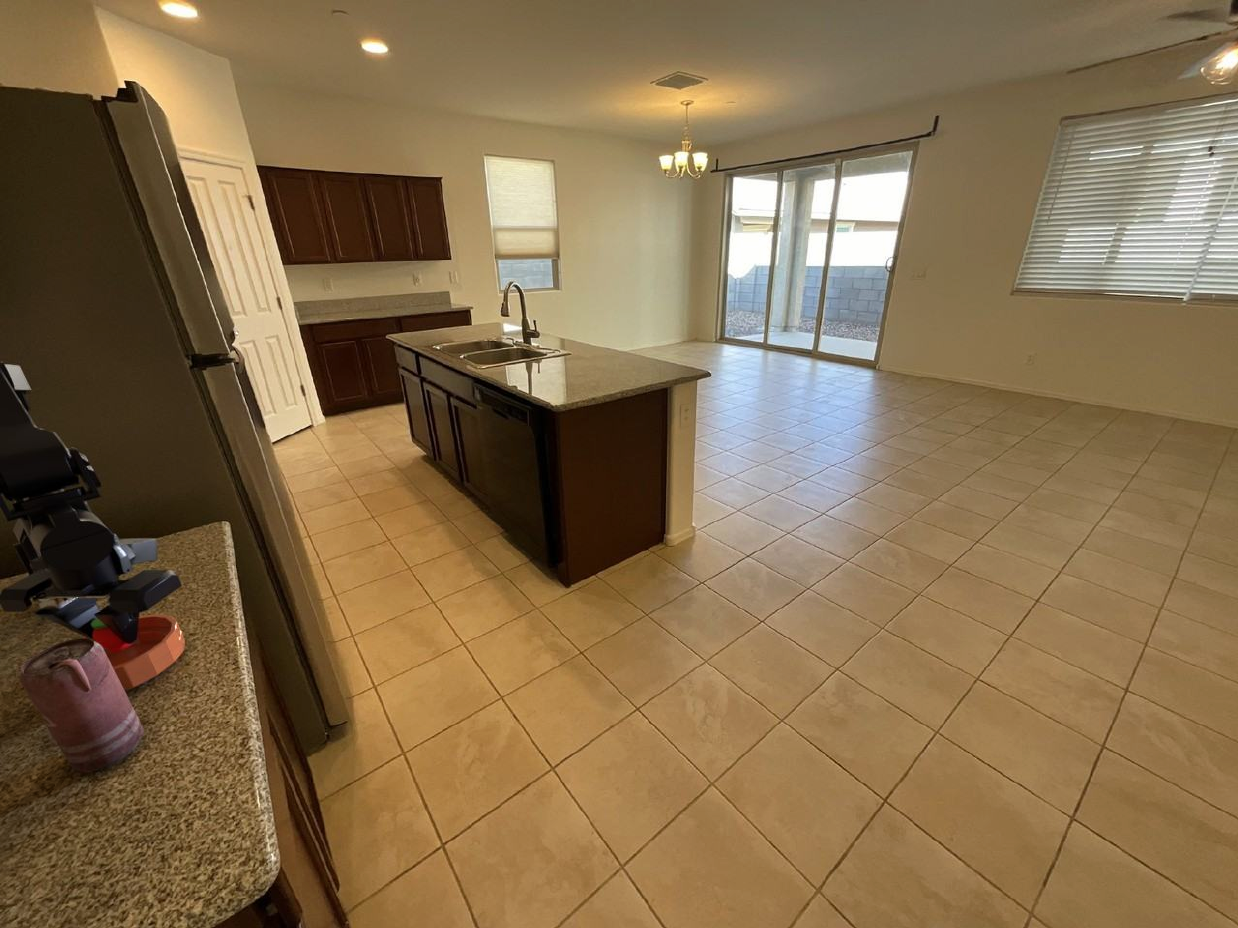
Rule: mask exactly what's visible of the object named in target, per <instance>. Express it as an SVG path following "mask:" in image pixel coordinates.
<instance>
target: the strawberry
mask: <svg viewBox="0 0 1238 928" xmlns="http://www.w3.org/2000/svg"><path fill="white" fill-rule="evenodd" d="M91 626H92V628H94V631H93V635H92V636H93V640H94V641H95V642H97V643H99V644H100V645H101V646H102V647H106V648H107V649H109V650H110V652H112V653H116V652H120V651H123V650H125V649H127V648H128V647H130V646H131V644H132V643H131V644H126V643H125V642H124V641H122V640H121V639H120V638H119V637H118V636H117V635H115V634H114V633H113V632H112V631H111V630H110V629H109V628H108V627H107V626H106V625H104V624H103V623H102V622H101V621H100V620H99V619H98V618H96V619H95V620H94V621H92V623H91Z"/></svg>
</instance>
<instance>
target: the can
mask: <svg viewBox="0 0 1238 928" xmlns="http://www.w3.org/2000/svg"><path fill="white" fill-rule="evenodd" d="M18 681H19V682H20V684H21V686H22V688H23V689H24V691H25V692H26V694H27V696H28V697H29V699H30V701H31V702H32V704H33V706H34V707H35V709H36V711H37V712H38V714H39V715H40V717H41V719H42V720H43V721H42V722H44V724H45V725H46V727H47V728H48V731H49V732H50V734H51V736H52V738H53V739H54V741H55V742H56V744H57V745H58V747H59V749H60V750H61V752H62V754H63V755H64V758H65V759H66V760H67V762H68V764H69V765H70V768H71V769H73V770H74V771H77V772H82V773H94V772H98V771H101V770H105V769H107V768H109V767H112V766H113V765H115V764H117V763H119V762H120V761H123V760H124V759H125V758H126V757H128V755H130V754H131V753H132V752H134V750H136V748H137V747H138V746H139V745H140V743H141V741H142V739H143V736H144V734H145V732H144V726H143V725H142V723H141V720H140V719H139V717H138V715H137V713H136V711H135V709H134V707H133V705H132V703H131V701H130V699H129V697H128V694H127V693H126V690H125V691H124V689H123V687H122V685H121V683H120V681H119V679H118V677H117V675H116V673H115V671H114V669H113V667H112V665H111V663H110V661H109V659H108V657H107V655H106V653H105V651H104V649H103V647H102V646H101V645H100V644H99V643H97V642H95V641H93V640H92V639H89V638H85V637H80V638H73V639H68V640H65V641H62V642H59V643H57V644H54V645H52V646H50V647H47V648H45V649H43V650H41V651H39V652H38V653H36V654H34V655H33V656H31V657H30V658H28V659H27V660H26V661H25V662H24V663H23V664H22V665H21V668H20V675H19V680H18Z"/></svg>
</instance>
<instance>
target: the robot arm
mask: <svg viewBox="0 0 1238 928" xmlns="http://www.w3.org/2000/svg"><path fill="white" fill-rule="evenodd" d="M32 391H33V390H32V387H31V386H30V384H29V382H28V380H27V378H26V376H25V374H24V372H23V370H22V368H21V365H18V364H8V363H4V361H0V510H1V512H2V514H3V517H4V518H5V520H6V521H7V522H12V521H15V520H16V522H15V525H14V527H13V529H12V530H13V533H14V534H15V537H16V539H17V540H18V543H17V542H16V543H13V544H12V546H13V547H14V549H15V551H16V554H17V555H18V557H19V558H20V561H21V562H22V564H23V565H24V566H23V567H24V568H25V570H26V572H27V573H28V576H26V577H23V578H21V579H20V580H18V581H16V582H13V583H12V584H10V585H8V586H6V587H3V589H2V590H1V592H0V606H1V608H2V610H3V612H4V613H24V612H27V611H28V610H30V609H31V607H32V605H33V602H37V604H38V607H40V609H38V610H37V611H35V612H34V615H35V616H37V617H39V618H44V619H46V620H49V621H50V622H53V623H55V624H57V625H58V626H59V625H60V626H61V627H63V628H66V629H68V630H70V631H72V632H74V633H76V634H78V635H80V636H82V637H83V638H89V639H92V640H93V636H92V635H93V631H94V628H92V626H91V623H92V621H94V620H95V619H96V618H98V619H99V620H100V621H101V622H102V623H103V624H104V625H106V626H107V627H108V628H109V629H110V630H111V631H112V632H113V633H114V634H115V635H117V636H118V637H119V638H120V639H121V640H122V641H124V642H125V643H126V644H131V643H133V642H134V641H135V640H136V639H137V634H138V623H139V616H140V613H143V612H146V611H148V610H150V609H152V608H153V607H155V605H158V604H159V603H160V602H161V601H163V600H164V599H166V598H167V597H168V596H170V595H171V594H172V593H174V592H175V591H176V590H178V589H179V588H181V587H182V586H183V585H182V582H181V580H180V578H179V574H178V572H177V571H173V570H170V569H143V570H142V571H140V572H138V573H137V574H135V575H134V576H132V577H129V578H126V579H121V578H120V576H122V575H127V574H129V573H130V572H132V571H135V570H134V567H133V565H138V564H139V565H140V564H144V563H147V562H151V563H153V562H156V561H158V560H159V559H158V557H159V556H158V538H155V537H153V538H152V537H147V538H145V537H144V538H143V537H135V538H134V537H133V538H119V537H118V535H117V534H116V533H113V532H112V531H111V530H110V529H109V528H108V527H107V526H106V525H105V524H104V523H103V522H102V521H101V519H100V518H99V517H98V516H96V515H95V514H94V513H93V512H92V510H91V508H90V506H89V504H88V501H91V500H95V499H99V498H101V497H102V496H101V494H100V491H99V490H98V488H102V482H101V480H100V479H99V477H98V475H97V473H96V472H95V470H94V468H93V467H92V464H91V463H90V461H89V460H88V458H87V456H86V455H85V454H83V453H80V452H79V450H78V449H77V448H75V447H74V446H73V447H72V446H71V447H68V448H67V446H66V445H65V443H64V442H63V440H62V438H60V436H59V435H58V433H57V432H55V431H51V430H48V429H44V428H41V427H38V426H37V425H36V423H35V422H34V420H33V419H32V417H31V415H30V410H31V406H30V404H29V401H28V399H27V397H26V395H30V394H31V393H32ZM80 479H81V480H82V482H83V484H84V485H85V487H86V489H85V487H84V486H78V485H80V484H81V480H80ZM76 486H78V487H76ZM72 487H74V488H72ZM69 488H70V489H69ZM65 489H66V490H65ZM5 500H6V501H7V502H13V501H14V503H11V505H12V507H13V508H10V509H9V507H8V504H7V503H6V501H5ZM106 598H107V601H106V604H107V605H106V606H105V607H103V608H101V609H100V610H99V606H98V604H97V600H98V599H106ZM31 600H32V601H33V602H32V601H31ZM93 641H94V640H93Z"/></svg>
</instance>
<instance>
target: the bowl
mask: <svg viewBox="0 0 1238 928" xmlns="http://www.w3.org/2000/svg"><path fill="white" fill-rule="evenodd" d="M185 643H186V640H185V637H184V635H183V632H182V630H181V628H180V625H179V623H178V621H177V620H176V619H175V618H174V617H172V616H171V615H169V614H159V613H155V614H154V613H153V614H147V615H141V616H140V615H139V623H138V634H137V639H136V640H135V641H134V642H133V643H132V644H131V646H130V647H128V648H127V649H125V650H123V651H120V652H116V653H112V652H110V650H109V649H107V648H106V647H103V649H104V651H105V653H106V655H107V657H108V659H109V661H110V663H111V665H112V667H113V669H114V671H115V673H116V675H117V677H118V679H119V681H120V683H121V685H122V687H123V689H124V691H125V692H126V691H128V690H130V689H134V688H136V687H138V686H139V685H141V684H143V683H145V682H147V681H149V680H150V679H151V680H152V679H153V678H155V677H156V676H158V675H159V674H161V673H162V672H163V671H164V670H167V668H169V667H170V666H172V664H174V663H175V662H176V661H177V660H178V659H179V657H180V656H181V655H182V653H184V651H185Z"/></svg>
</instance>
